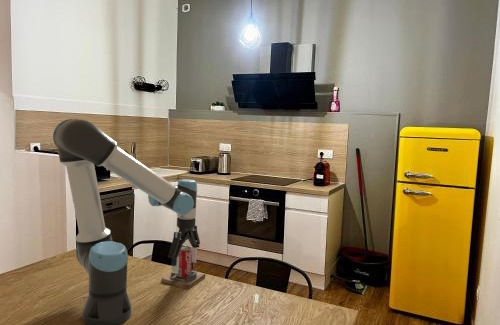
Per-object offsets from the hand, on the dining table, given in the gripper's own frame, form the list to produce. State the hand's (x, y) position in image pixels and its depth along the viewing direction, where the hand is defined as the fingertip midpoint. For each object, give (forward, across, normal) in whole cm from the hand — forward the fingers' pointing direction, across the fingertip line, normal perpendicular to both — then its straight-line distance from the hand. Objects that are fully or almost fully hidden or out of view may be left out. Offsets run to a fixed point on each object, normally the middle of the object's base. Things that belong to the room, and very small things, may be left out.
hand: (184, 267), depth 153 cm
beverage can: (+4, 0, 0) cm, 4 cm away
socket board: (+5, 0, 0) cm, 5 cm away
